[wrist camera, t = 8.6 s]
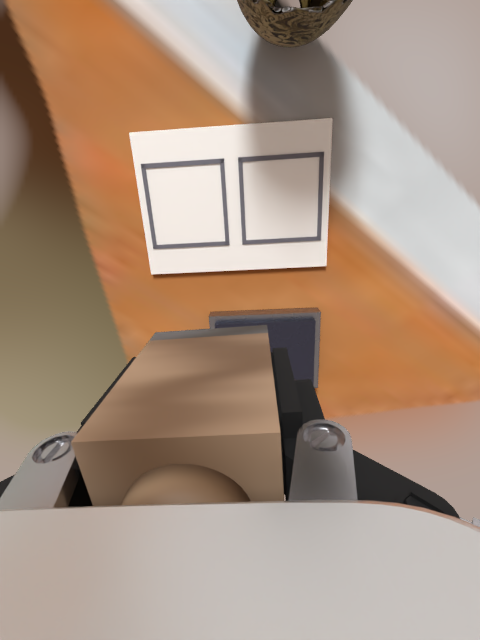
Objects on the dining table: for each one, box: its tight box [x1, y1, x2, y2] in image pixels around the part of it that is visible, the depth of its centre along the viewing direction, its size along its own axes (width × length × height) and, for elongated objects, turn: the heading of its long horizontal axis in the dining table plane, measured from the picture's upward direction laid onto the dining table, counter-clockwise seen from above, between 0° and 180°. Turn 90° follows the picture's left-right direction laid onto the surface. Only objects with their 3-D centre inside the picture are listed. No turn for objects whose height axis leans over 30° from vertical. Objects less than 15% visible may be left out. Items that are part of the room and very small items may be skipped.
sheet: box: [129, 118, 333, 274], centre depth 23 cm, size 14×10×1 cm
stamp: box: [71, 325, 284, 506], centre depth 9 cm, size 4×4×7 cm
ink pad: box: [209, 308, 321, 388], centre depth 26 cm, size 9×7×2 cm
